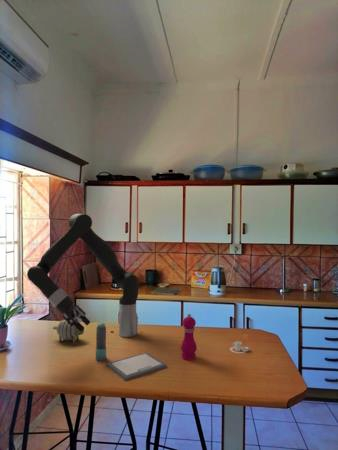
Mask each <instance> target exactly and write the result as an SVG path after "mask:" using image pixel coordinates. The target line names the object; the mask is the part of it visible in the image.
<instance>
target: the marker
mask: <svg viewBox="0 0 338 450" xmlns="http://www.w3.org/2000/svg"><path fill="white" fill-rule="evenodd" d="M95 333H96V340H95V341H96V344H95V345H96V346H95V361H97V362H103V361H105V360H106V359H107V327H106V323H104V322H99V323H97V326H96V332H95Z"/></svg>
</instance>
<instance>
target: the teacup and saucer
mask: <svg viewBox="0 0 338 450" xmlns="http://www.w3.org/2000/svg"><path fill="white" fill-rule="evenodd" d="M234 349H235V350H234ZM249 350H250V348H249V347H248V346H243V347H242V342H241V341H234V342H233V343H232V347H230V348H229V351H230V352H232V353H234V354H245V353H247V352H248V351H249Z"/></svg>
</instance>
